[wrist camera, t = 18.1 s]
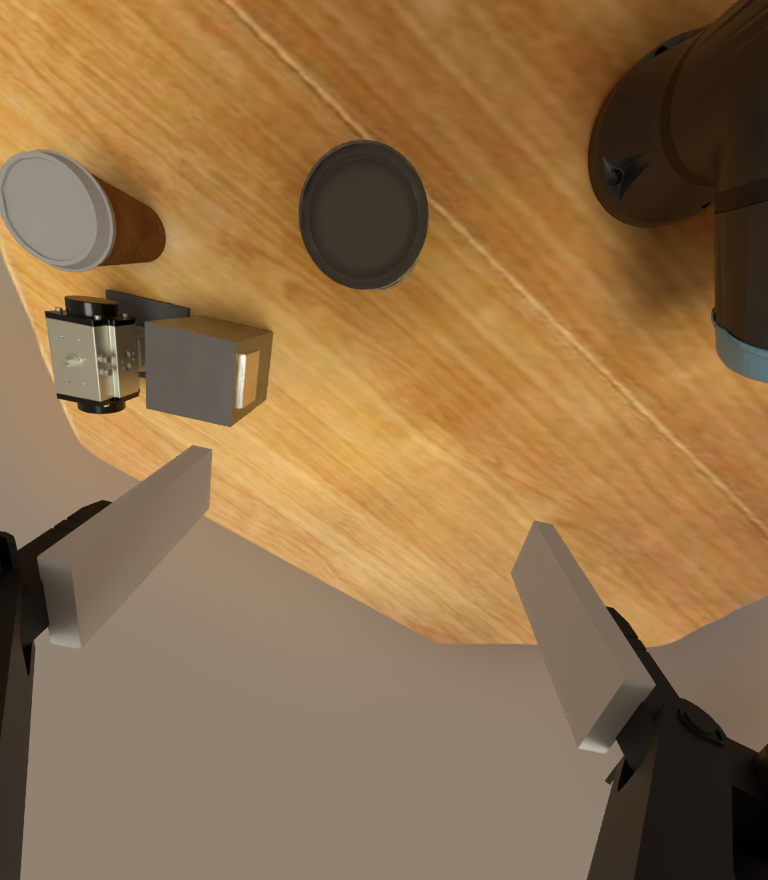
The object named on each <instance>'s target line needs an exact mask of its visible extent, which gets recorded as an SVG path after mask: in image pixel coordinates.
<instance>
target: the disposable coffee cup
mask: <svg viewBox="0 0 768 880" xmlns="http://www.w3.org/2000/svg"><path fill="white" fill-rule="evenodd" d="M0 213H1V216H2V218H3V220H4V223H5V224H6V226H7V228H8V230H9V231H10V233H11V234H12V235H13V237H14V238H15V240H16V241H17V242H18V243H19V244H20V245H21V246H22V247H23V248H24V249H25V250H26V251H27V252H29V253H30V254H32V255H33V256H35V257H36V258H38V259H40V260H42V261H44V262H45V263H47V264H49V265H51V266H52V267H55V268H57V269H60V270H63V271H68V272H84V271H88V270H91V269H93V268H95V267H97V266H108V265H120V264H131V263H142V262H151V261H153V260H155V259H157V258H158V257H159V256H160V255H161V253H162V252H163V249H164V247H165V231H164V227H163V225H162V222H161V220H160V219H159V217H158V216H157V214H156V213H155V212H154V211H153V210H152V209H151V208H150V207H148V206H147V205H145V204H143V203H141V202H140V201H138V200H136V199H134V198H133V197H131V196H129V195H127V194H126V193H124V192H122V191H120V190H119V189H117V188H115V187H113V186H111V185H110V184H108V183H106V182H104V181H103V180H101V179H99V178H97V177H96V176H94V175H92V174H91V173H90V172H89V171H88V170H86V169H85V168H84V167H83V166H82V165H81V164H79V163H78V162H77V161H75V160H74V159H72V158H70V157H68V156H66V155H64V154H62V153H60V152H56V151H52V150H44V149H37V150H34V151H30V152H21V153H19V154H16V155H14V156H12V157H10V158H9V159H8V160H7V162H6V163H5V164H4V165H3V166H2V168H1V171H0Z"/></svg>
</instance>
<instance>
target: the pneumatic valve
mask: <svg viewBox="0 0 768 880" xmlns="http://www.w3.org/2000/svg"><path fill="white" fill-rule="evenodd" d="M64 298H65V306H66V310H63V309H62V308H60V307H55V311H45V316H46V323H47V330H48V337H49V344H50V351H51V358H52V365H53V372H54V379H55V386H56V393H57V398H58V399H63V400H68V401H73V402H77V404H78V409H79V410H81V411H83V412H87V413H93V414H109V413H115V412H119V411H122V410H124V409H125V407H126V404H125V401H127V400H130V399H132V398H135V397H138V396H139V393H140V387H139V372H143V371H146V363H145V328H144V327H141V326H136V317H133V316H128V314H126V313H122V314H119V308H118V303H117V302H115V301H112V300H108V299H102V298H96V297H88V296H65V297H64Z"/></svg>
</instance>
